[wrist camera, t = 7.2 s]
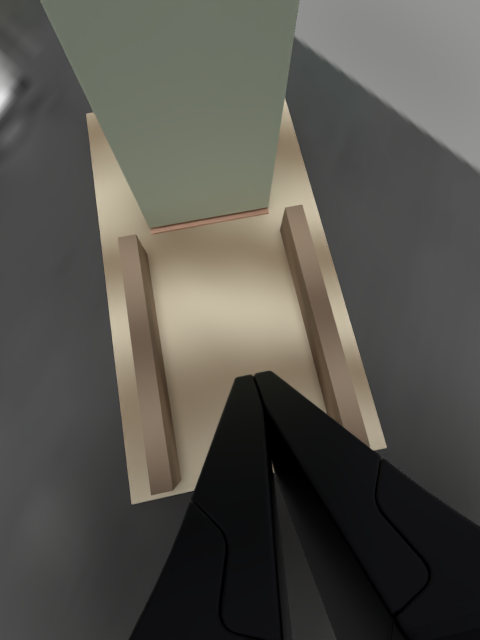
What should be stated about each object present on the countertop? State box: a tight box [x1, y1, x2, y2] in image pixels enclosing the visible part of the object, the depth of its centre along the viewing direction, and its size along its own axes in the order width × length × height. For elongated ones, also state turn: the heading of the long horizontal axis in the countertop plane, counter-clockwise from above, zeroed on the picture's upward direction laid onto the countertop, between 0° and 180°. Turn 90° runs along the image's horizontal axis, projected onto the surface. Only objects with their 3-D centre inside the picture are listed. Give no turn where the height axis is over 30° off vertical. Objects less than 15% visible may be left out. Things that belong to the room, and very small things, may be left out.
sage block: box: [40, 0, 299, 228], centre depth 13 cm, size 5×6×11 cm
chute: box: [86, 99, 387, 504], centre depth 17 cm, size 20×11×3 cm, turn 12°
